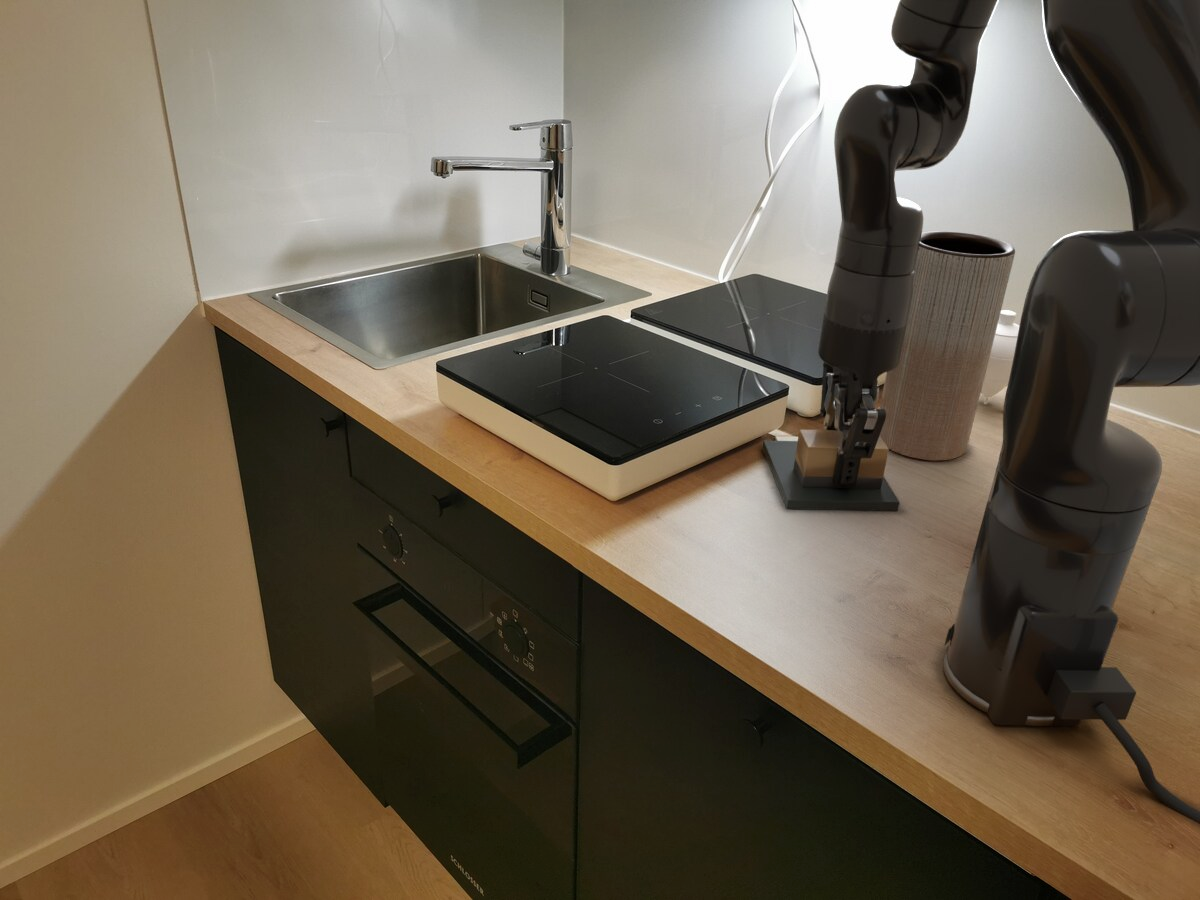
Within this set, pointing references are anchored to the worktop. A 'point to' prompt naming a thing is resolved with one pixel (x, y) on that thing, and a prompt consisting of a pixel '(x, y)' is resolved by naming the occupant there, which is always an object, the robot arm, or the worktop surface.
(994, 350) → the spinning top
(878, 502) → the slate board
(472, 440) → the worktop surface
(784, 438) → the cream rectangular block
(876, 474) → the eraser
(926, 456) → the planter
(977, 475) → the worktop surface
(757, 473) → the worktop surface
